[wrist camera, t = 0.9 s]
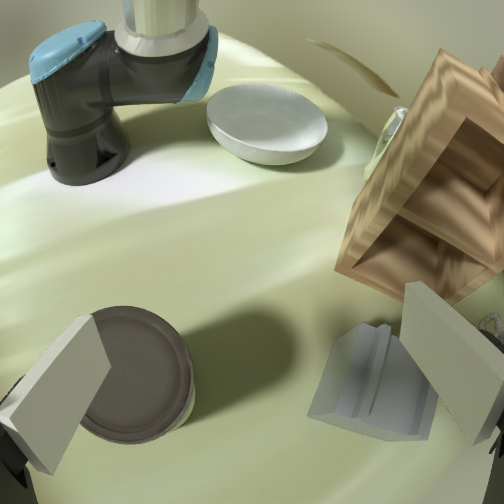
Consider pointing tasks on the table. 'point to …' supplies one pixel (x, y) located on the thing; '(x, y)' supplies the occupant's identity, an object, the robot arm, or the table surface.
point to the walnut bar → (499, 73)
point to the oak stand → (435, 192)
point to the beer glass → (385, 139)
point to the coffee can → (140, 378)
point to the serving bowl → (266, 123)
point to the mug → (500, 331)
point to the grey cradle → (375, 388)
